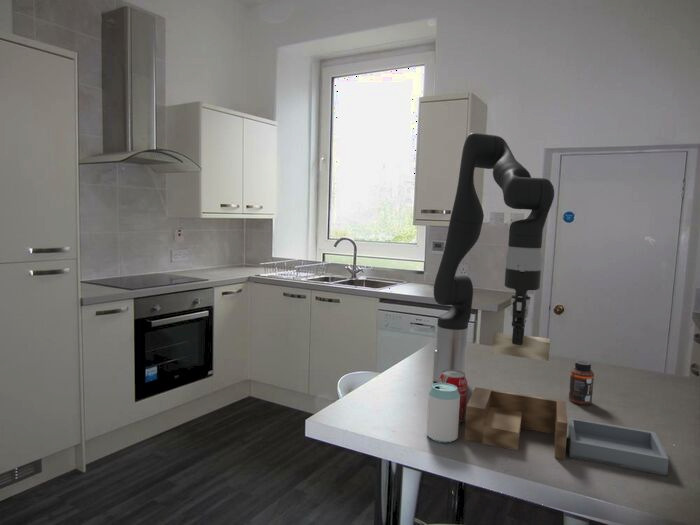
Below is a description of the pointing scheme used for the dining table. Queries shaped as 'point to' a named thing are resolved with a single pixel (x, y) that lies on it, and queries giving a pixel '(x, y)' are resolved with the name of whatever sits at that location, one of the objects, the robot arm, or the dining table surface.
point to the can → (443, 412)
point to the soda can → (461, 383)
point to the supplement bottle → (581, 383)
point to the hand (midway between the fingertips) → (517, 341)
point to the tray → (616, 446)
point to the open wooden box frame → (514, 418)
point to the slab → (521, 346)
